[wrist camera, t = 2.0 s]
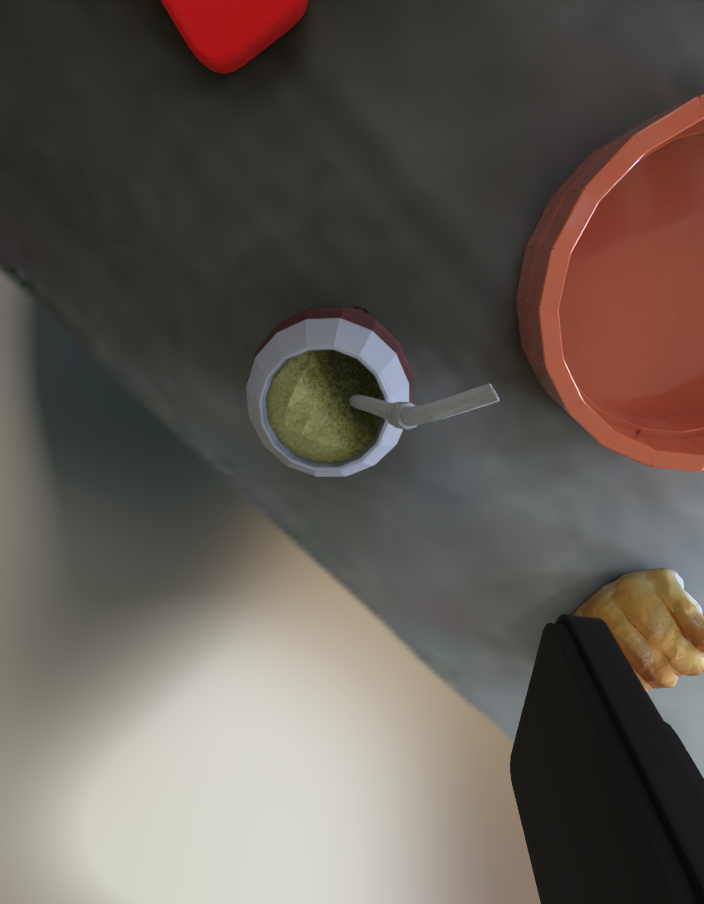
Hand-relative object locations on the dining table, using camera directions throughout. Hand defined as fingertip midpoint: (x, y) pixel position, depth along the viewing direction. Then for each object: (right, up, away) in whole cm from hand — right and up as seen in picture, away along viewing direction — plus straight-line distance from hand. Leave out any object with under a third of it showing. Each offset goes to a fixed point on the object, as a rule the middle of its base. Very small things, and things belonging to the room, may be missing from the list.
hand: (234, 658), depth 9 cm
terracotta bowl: (+17, +11, +18) cm, 27 cm away
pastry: (+18, -7, +25) cm, 32 cm away
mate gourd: (+2, +8, +20) cm, 22 cm away
